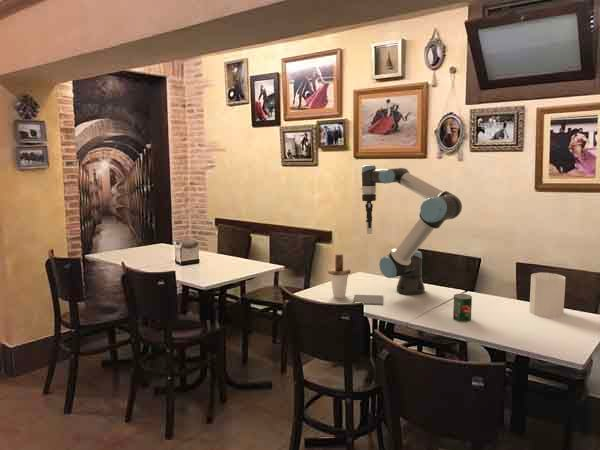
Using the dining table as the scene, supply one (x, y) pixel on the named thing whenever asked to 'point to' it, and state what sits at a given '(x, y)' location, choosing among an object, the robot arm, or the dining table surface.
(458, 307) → the canned tomato
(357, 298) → the mat
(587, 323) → the dining table surface
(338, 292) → the foam cup
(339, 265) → the lid
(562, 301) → the container
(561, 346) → the dining table surface
